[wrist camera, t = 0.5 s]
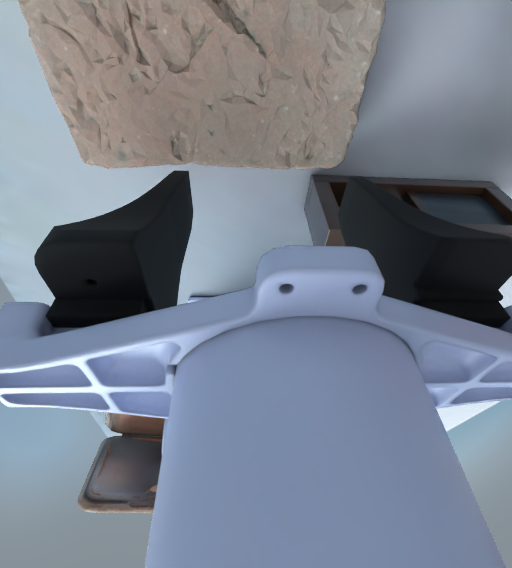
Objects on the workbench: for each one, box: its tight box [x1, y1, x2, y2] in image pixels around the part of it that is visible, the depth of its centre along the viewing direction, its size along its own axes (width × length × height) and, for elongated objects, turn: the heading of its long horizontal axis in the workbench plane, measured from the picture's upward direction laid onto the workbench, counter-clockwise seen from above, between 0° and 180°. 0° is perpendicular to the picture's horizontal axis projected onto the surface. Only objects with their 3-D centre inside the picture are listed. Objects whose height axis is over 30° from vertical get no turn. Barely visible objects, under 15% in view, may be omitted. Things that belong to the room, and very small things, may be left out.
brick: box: [18, 0, 385, 169], centre depth 17 cm, size 17×8×5 cm, turn 88°
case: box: [78, 412, 165, 513], centre depth 52 cm, size 20×21×16 cm
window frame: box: [304, 175, 512, 247], centre depth 23 cm, size 3×15×7 cm, turn 87°
